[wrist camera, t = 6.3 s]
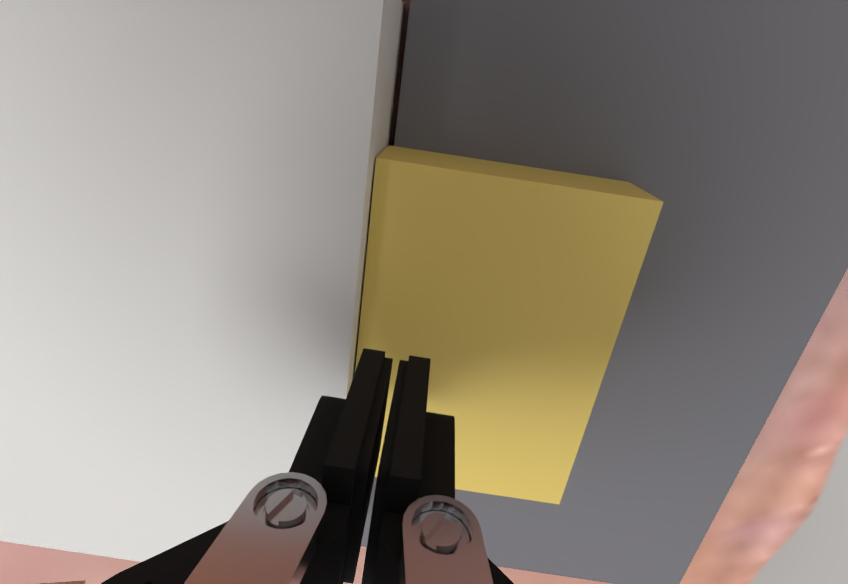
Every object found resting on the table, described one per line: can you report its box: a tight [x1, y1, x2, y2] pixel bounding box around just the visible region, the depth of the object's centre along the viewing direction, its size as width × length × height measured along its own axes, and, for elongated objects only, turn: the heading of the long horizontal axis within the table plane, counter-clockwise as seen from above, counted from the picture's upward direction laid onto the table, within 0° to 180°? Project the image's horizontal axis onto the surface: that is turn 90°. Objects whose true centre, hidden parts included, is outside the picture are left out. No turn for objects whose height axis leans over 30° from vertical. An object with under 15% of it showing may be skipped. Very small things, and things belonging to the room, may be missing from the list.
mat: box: [361, 0, 848, 584], centre depth 16 cm, size 22×14×1 cm, turn 172°
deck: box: [0, 0, 405, 562], centre depth 15 cm, size 18×14×4 cm
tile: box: [355, 145, 663, 504], centre depth 15 cm, size 10×7×2 cm
